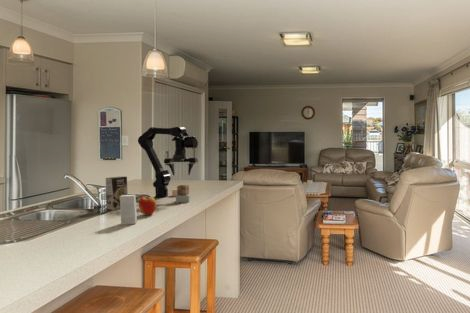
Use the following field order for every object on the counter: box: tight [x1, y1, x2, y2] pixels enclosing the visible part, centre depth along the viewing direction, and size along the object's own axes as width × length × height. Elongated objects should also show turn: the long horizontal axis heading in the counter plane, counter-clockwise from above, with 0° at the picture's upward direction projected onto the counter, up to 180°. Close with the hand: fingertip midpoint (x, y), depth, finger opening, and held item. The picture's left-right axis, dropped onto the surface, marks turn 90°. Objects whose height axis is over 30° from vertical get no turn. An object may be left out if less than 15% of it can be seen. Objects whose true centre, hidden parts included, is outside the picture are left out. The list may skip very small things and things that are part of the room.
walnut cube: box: [176, 184, 190, 195], centre depth 248 cm, size 5×5×5 cm
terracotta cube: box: [171, 188, 177, 197], centre depth 272 cm, size 4×4×4 cm
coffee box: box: [105, 176, 129, 211], centre depth 232 cm, size 9×6×16 cm
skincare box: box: [119, 194, 138, 226], centre depth 191 cm, size 6×4×12 cm
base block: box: [175, 193, 191, 204], centre depth 249 cm, size 7×7×4 cm
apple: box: [138, 196, 157, 215], centre depth 211 cm, size 8×8×10 cm
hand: (181, 175), depth 264 cm, fingers open, 9 cm apart
